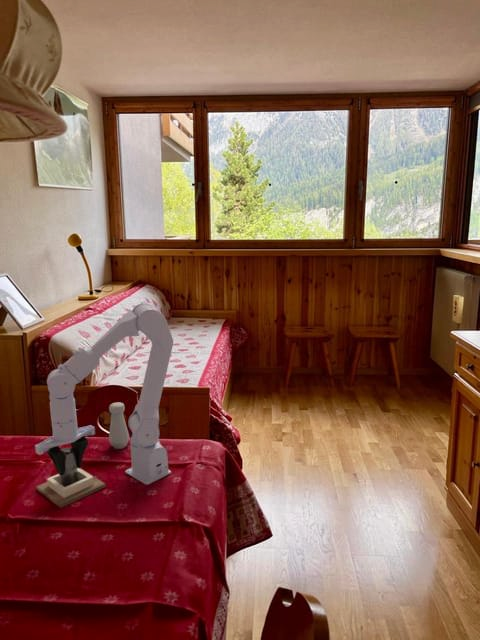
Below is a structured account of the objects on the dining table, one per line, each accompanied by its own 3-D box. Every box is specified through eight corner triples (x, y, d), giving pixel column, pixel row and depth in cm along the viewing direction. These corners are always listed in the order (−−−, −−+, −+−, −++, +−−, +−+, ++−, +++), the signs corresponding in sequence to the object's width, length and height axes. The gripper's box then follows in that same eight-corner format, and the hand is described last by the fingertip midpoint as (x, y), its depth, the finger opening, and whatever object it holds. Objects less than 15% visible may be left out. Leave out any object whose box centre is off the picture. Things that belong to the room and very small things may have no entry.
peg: (81, 481, 124) (78, 451, 122) (65, 487, 121) (62, 456, 120) (74, 475, 127) (71, 445, 125) (58, 480, 124) (55, 451, 122)
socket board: (105, 486, 125) (104, 476, 124) (60, 508, 116) (59, 497, 115) (80, 470, 133) (79, 460, 132) (36, 489, 124) (35, 479, 123)
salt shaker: (127, 450, 143) (124, 407, 140) (107, 450, 143) (103, 408, 140) (131, 441, 149) (129, 400, 146) (112, 441, 149) (109, 400, 146)
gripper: (82, 405, 128) (87, 454, 131) (26, 423, 118) (33, 476, 121) (97, 412, 123) (101, 463, 126) (41, 432, 113) (47, 486, 116)
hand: (69, 470), depth 123 cm, fingers closed on peg, 4 cm apart
